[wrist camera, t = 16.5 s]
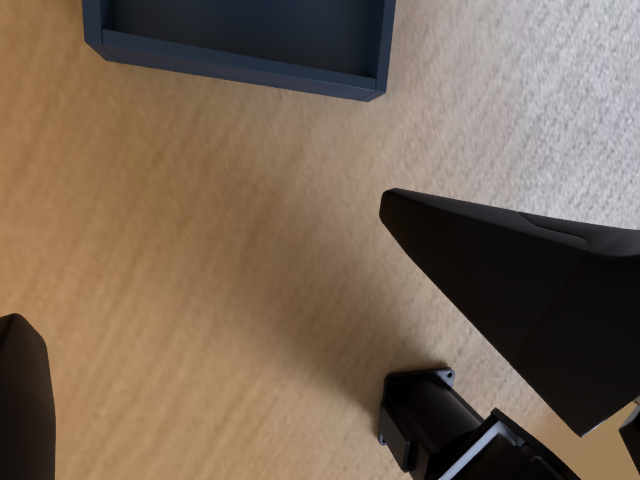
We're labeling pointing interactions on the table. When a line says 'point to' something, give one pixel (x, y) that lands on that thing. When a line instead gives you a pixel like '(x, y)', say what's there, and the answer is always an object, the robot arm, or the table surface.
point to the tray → (252, 41)
